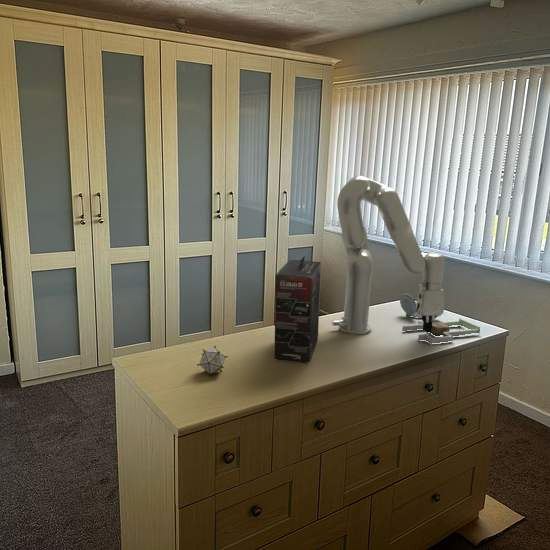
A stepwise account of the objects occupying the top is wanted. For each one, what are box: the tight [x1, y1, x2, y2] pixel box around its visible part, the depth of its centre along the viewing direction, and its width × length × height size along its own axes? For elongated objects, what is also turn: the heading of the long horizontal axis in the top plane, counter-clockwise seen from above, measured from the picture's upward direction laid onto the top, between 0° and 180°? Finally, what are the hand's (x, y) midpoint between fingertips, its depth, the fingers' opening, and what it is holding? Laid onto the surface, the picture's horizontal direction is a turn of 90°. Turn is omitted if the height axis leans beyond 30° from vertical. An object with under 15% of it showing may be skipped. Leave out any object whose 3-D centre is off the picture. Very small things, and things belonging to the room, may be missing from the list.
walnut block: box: [430, 322, 451, 336], centre depth 201 cm, size 6×6×4 cm
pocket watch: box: [399, 293, 422, 317], centre depth 224 cm, size 10×11×15 cm
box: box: [401, 318, 481, 344], centre depth 202 cm, size 28×20×4 cm
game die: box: [196, 345, 229, 377], centre depth 158 cm, size 9×8×10 cm
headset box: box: [273, 255, 322, 364], centre depth 177 cm, size 24×13×33 cm, turn 168°
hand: (426, 331), depth 200 cm, fingers closed
